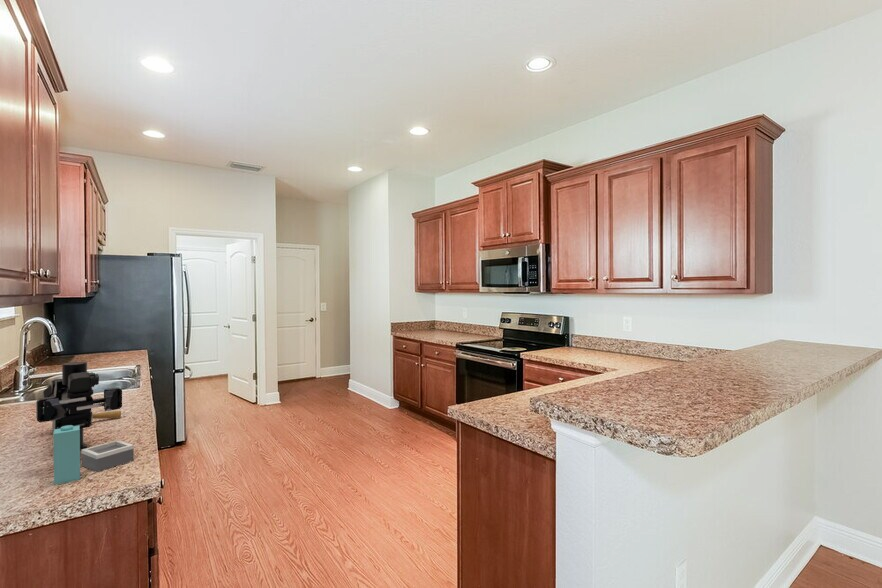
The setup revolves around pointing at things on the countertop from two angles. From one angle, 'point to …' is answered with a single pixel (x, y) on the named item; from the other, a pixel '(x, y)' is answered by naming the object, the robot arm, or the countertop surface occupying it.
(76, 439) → the tall brick
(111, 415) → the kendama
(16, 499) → the countertop surface
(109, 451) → the tower base
